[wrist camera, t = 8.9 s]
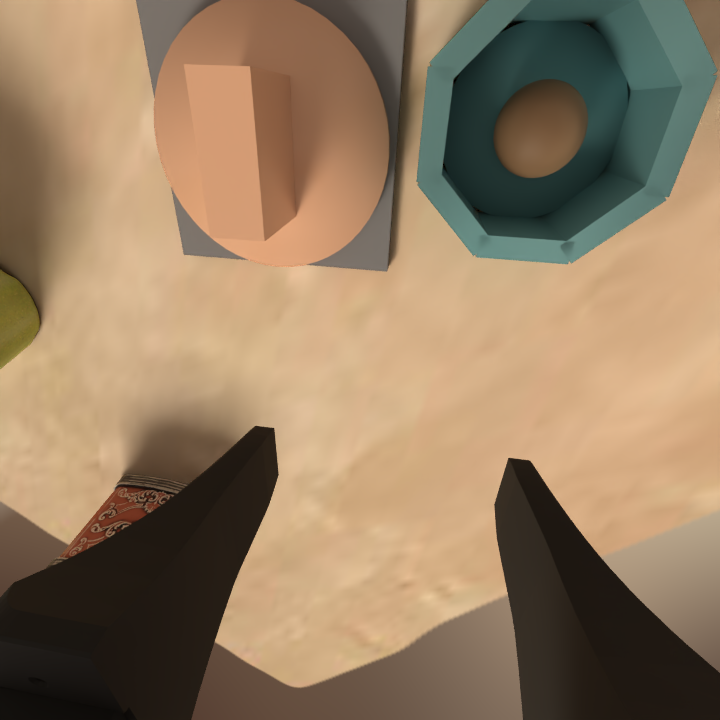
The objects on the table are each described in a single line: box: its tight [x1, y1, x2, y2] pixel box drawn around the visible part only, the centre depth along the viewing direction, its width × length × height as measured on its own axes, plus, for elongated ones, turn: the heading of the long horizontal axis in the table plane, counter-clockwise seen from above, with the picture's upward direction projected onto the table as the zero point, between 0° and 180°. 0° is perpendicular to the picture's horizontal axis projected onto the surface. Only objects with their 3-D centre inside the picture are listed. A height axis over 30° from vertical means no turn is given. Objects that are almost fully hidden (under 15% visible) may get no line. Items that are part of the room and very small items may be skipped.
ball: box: [493, 79, 588, 178], centre depth 14 cm, size 3×3×3 cm
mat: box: [136, 0, 408, 271], centre depth 18 cm, size 10×10×1 cm
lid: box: [154, 0, 390, 267], centre depth 15 cm, size 10×10×5 cm
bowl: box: [417, 0, 717, 264], centre depth 15 cm, size 8×8×4 cm
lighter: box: [47, 474, 187, 568], centre depth 27 cm, size 8×3×10 cm, turn 81°
